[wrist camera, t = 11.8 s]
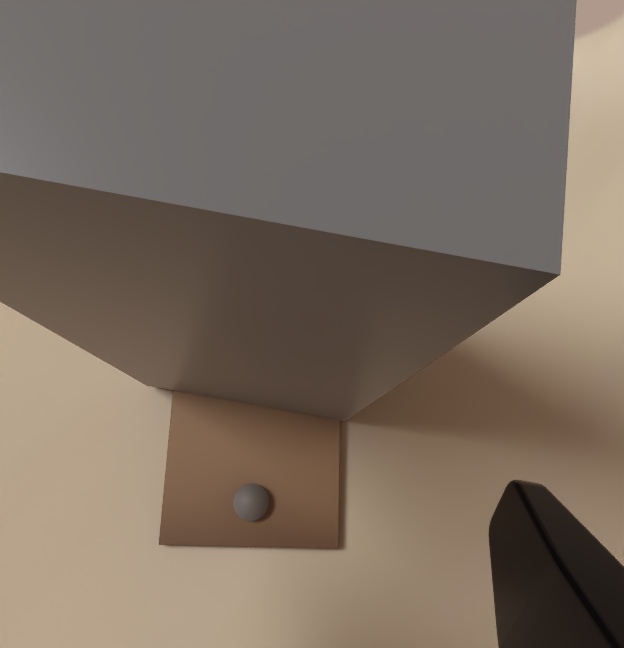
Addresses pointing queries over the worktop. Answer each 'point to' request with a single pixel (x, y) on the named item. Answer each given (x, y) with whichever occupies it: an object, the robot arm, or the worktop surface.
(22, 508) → the worktop surface
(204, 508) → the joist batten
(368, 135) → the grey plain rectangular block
